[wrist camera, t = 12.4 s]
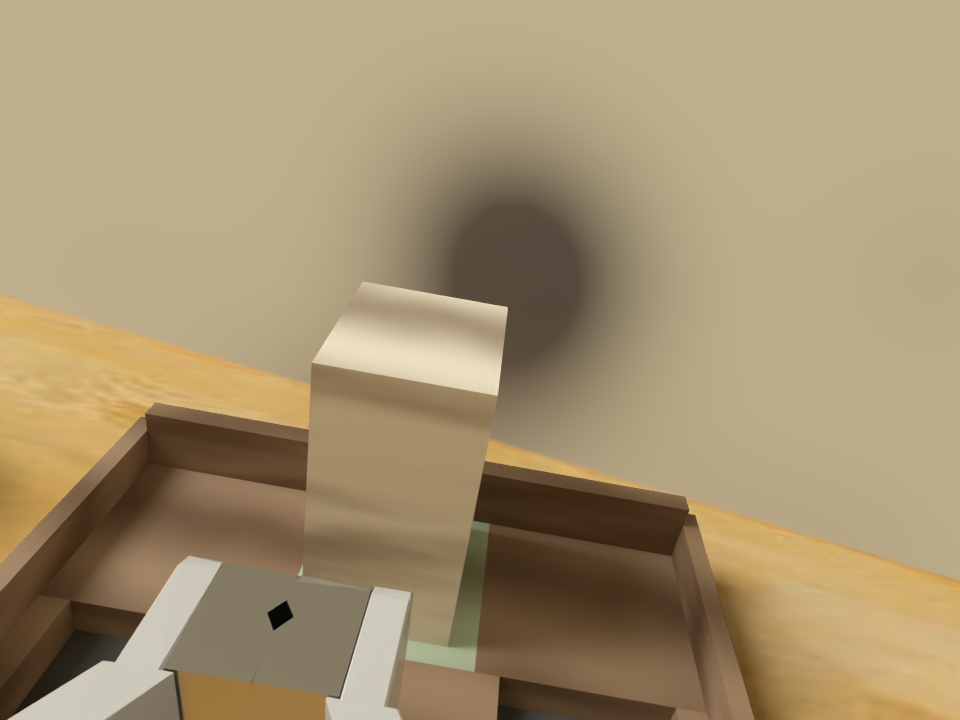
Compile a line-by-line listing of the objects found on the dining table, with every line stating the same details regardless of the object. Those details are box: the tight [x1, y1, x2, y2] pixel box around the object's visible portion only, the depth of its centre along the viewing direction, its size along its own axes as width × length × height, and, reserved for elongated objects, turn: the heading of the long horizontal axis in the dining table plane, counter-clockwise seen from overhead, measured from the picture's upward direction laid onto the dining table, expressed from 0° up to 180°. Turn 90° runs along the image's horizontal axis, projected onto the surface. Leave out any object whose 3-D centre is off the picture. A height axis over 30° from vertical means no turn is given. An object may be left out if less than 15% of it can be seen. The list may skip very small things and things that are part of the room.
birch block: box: [302, 282, 508, 647], centre depth 28 cm, size 7×6×12 cm
